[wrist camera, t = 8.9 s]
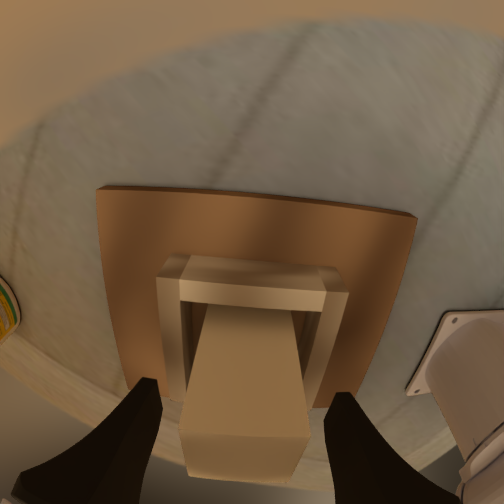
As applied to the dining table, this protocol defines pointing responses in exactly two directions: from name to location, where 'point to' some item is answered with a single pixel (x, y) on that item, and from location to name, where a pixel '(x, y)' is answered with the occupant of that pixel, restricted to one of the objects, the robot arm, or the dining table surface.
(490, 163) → the dining table surface
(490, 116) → the dining table surface
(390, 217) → the socket board
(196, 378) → the peg
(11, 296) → the supplement bottle
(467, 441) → the robot arm
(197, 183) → the dining table surface
